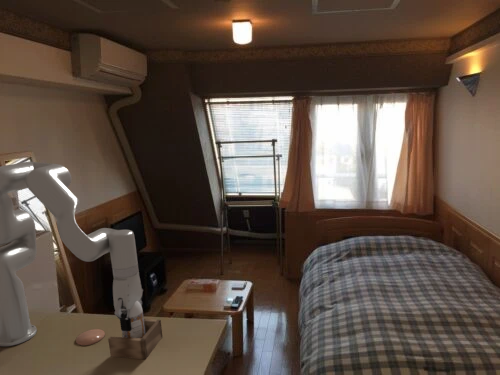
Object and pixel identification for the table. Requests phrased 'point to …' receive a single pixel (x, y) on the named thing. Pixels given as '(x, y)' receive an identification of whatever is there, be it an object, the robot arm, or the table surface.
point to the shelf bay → (137, 342)
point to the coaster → (90, 337)
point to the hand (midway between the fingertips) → (132, 323)
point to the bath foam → (135, 322)
